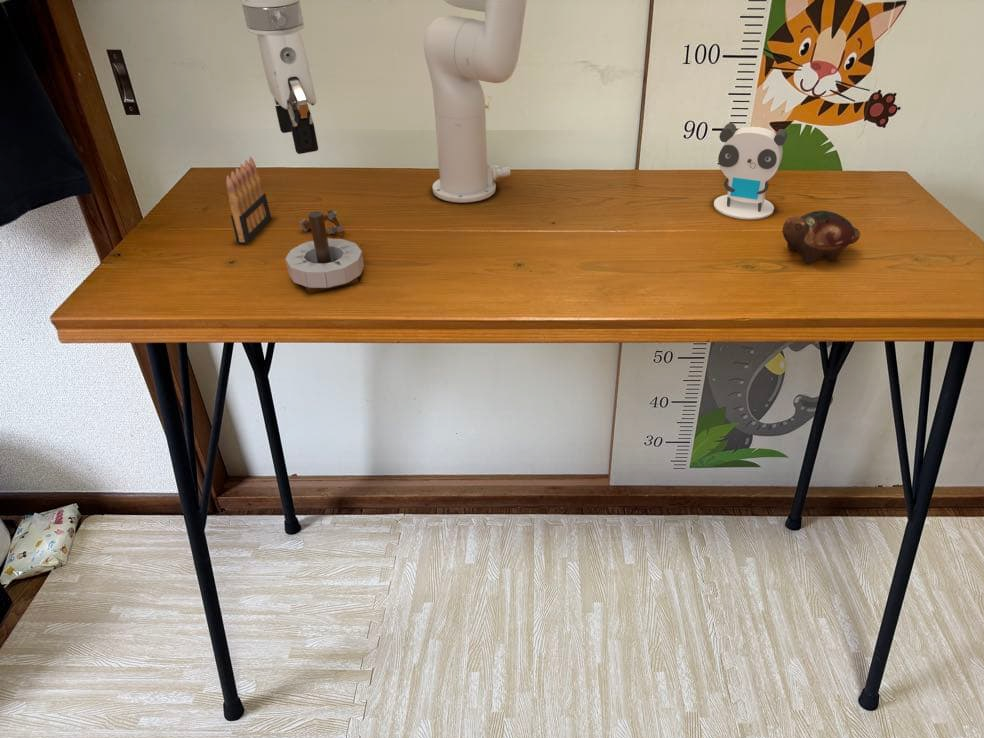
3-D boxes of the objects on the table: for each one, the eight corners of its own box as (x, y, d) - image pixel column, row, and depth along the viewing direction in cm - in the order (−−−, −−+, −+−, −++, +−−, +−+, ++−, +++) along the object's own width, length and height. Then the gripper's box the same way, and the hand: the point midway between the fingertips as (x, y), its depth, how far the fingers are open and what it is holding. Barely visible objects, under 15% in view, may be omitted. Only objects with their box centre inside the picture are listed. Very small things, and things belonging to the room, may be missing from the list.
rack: (344, 262, 129) (334, 200, 123) (358, 282, 124) (348, 219, 117) (296, 272, 126) (283, 209, 120) (309, 294, 121) (295, 229, 114)
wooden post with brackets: (344, 233, 136) (331, 210, 134) (312, 244, 139) (299, 221, 137) (350, 229, 137) (337, 206, 135) (317, 240, 141) (304, 217, 139)
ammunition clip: (247, 244, 134) (230, 177, 127) (236, 243, 134) (219, 177, 127) (271, 218, 143) (257, 154, 135) (262, 218, 143) (247, 154, 135)
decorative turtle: (760, 252, 133) (770, 207, 129) (828, 242, 139) (840, 199, 134) (796, 274, 126) (808, 227, 122) (867, 263, 131) (881, 218, 127)
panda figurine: (704, 212, 146) (716, 133, 137) (717, 191, 154) (728, 115, 145) (768, 223, 143) (784, 142, 133) (777, 200, 151) (793, 123, 142)
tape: (350, 248, 131) (347, 233, 129) (372, 277, 123) (370, 261, 121) (282, 263, 127) (278, 247, 125) (300, 294, 119) (297, 278, 117)
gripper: (317, 27, 100) (339, 155, 111) (286, 1, 112) (309, 120, 123) (259, 34, 98) (287, 165, 108) (234, 7, 110) (262, 127, 120)
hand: (299, 141), depth 116 cm, fingers open, 9 cm apart
